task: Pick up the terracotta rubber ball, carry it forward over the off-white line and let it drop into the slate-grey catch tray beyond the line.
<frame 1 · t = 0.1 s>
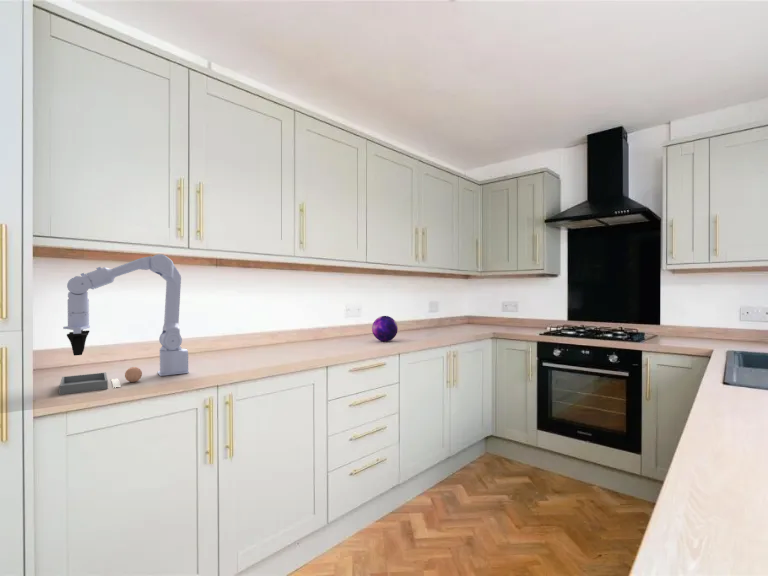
hand: (78, 353, 139), 10 cm above the countertop, fingers open, 7 cm apart
ball: (133, 374, 141), point 2 cm above the countertop
throw line: (115, 383, 139), on the countertop
catch tray: (84, 386, 134), on the countertop
decorative orb: (385, 341, 244), on the countertop
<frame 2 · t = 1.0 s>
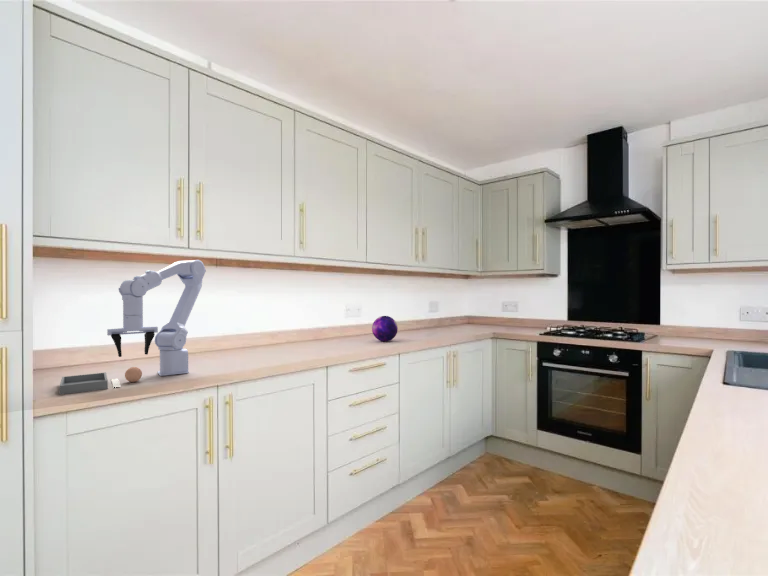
hand: (133, 355, 141), 9 cm above the countertop, fingers open, 7 cm apart
nothing on the countertop moved.
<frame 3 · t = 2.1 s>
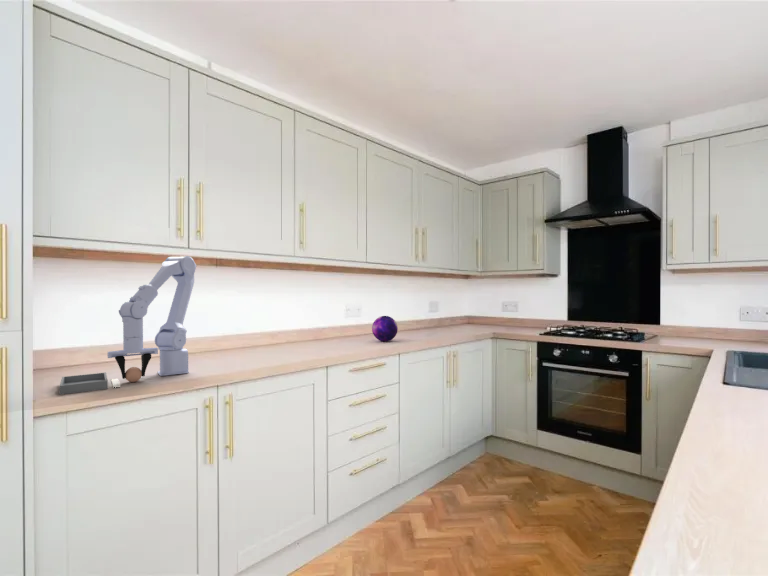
hand: (133, 377, 141), 2 cm above the countertop, fingers closed on ball, 5 cm apart
ball: (133, 374, 141), point 2 cm above the countertop, touching gripper
everything else where it was.
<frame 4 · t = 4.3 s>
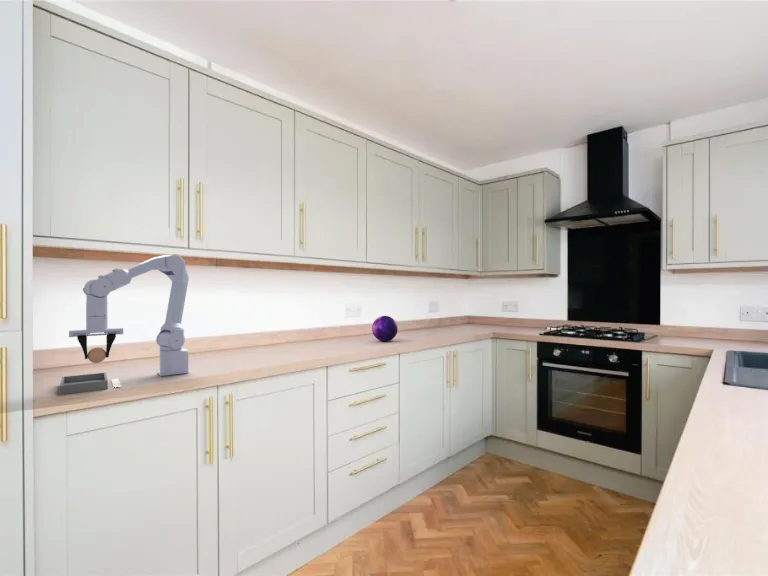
hand: (96, 357, 136), 9 cm above the countertop, fingers closed on ball, 5 cm apart
ball: (97, 355, 136), point 10 cm above the countertop, touching gripper
everything else where it was.
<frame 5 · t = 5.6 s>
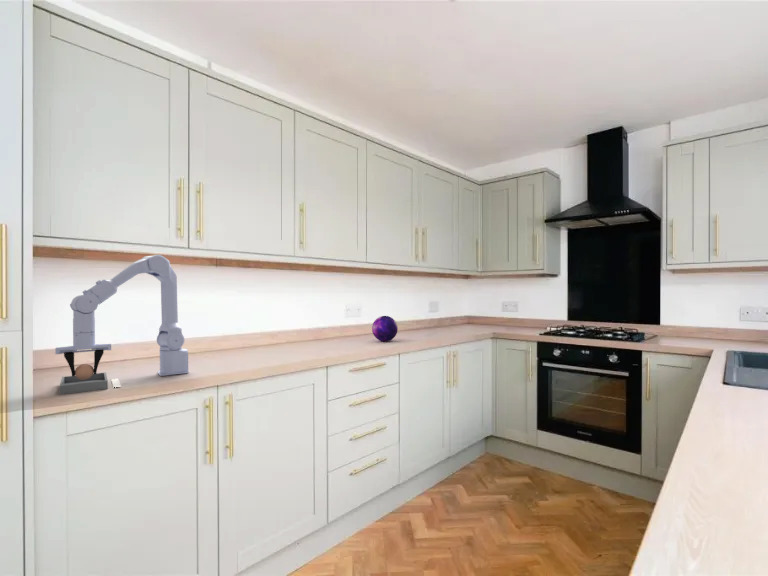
hand: (84, 374, 134), 4 cm above the countertop, fingers closed on ball, 5 cm apart
ball: (84, 371, 134), point 5 cm above the countertop, touching gripper
everything else where it was.
when the fingers open (4 cm above the countertop, at t = 6.4 s): ball drops 2 cm, resting on catch tray.
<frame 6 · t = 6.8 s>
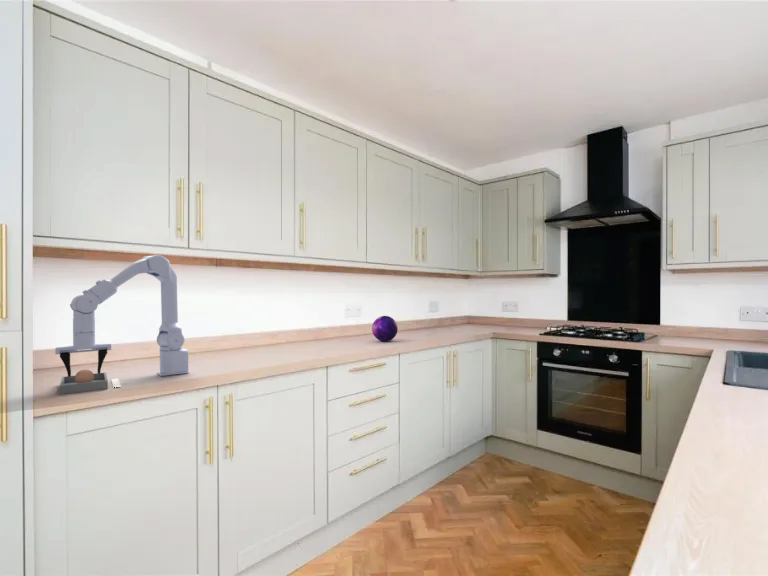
hand: (84, 374, 134), 4 cm above the countertop, fingers open, 7 cm apart
ball: (84, 377, 134), point 3 cm above the countertop, touching catch tray
everything else where it was.
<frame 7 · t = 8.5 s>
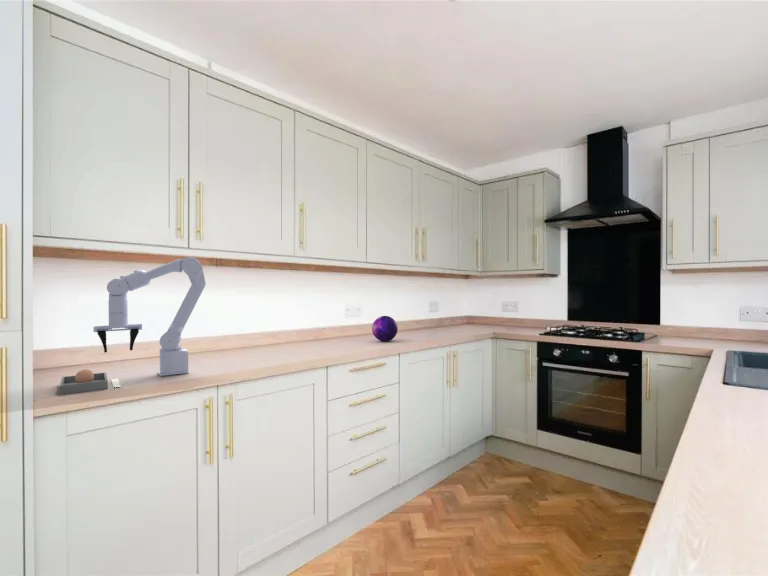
hand: (118, 351, 148), 9 cm above the countertop, fingers open, 7 cm apart
nothing on the countertop moved.
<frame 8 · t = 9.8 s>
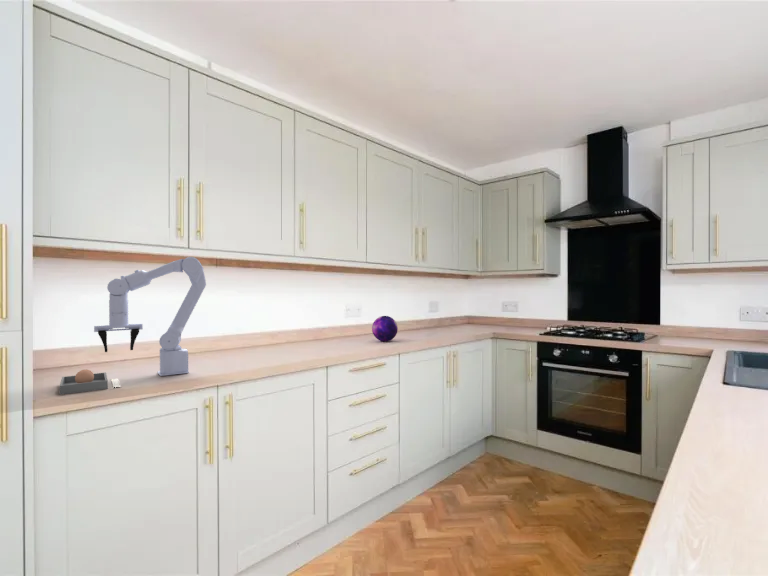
hand: (119, 350, 149), 9 cm above the countertop, fingers open, 7 cm apart
nothing on the countertop moved.
at the end: ball inside the target area (0.6 cm from its centre), point 3.1 cm above the countertop; ball touching catch tray; the gripper is holding nothing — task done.
